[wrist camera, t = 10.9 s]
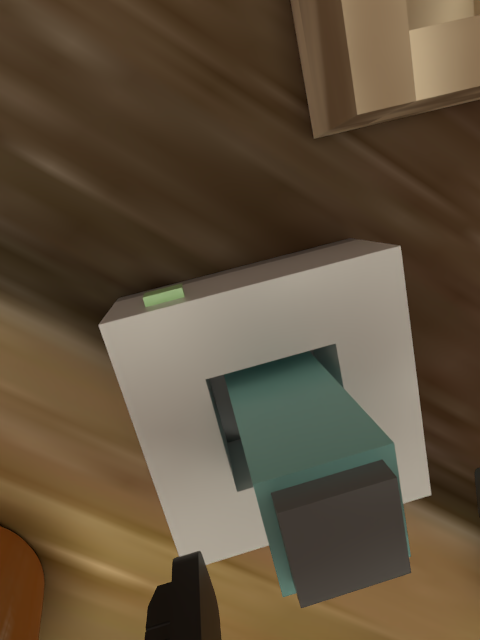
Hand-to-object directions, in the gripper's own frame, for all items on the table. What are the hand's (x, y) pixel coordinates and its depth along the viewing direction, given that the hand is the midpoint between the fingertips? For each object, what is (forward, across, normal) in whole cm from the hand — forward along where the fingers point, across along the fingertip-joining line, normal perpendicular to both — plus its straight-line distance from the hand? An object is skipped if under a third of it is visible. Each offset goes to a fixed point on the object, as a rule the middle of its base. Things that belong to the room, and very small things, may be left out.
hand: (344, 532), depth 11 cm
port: (+11, 0, 0) cm, 11 cm away
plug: (+10, 0, 0) cm, 10 cm away
